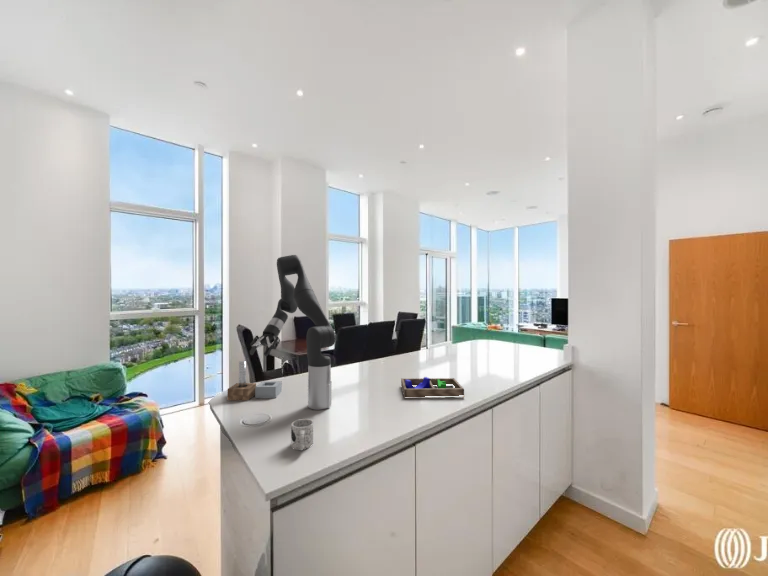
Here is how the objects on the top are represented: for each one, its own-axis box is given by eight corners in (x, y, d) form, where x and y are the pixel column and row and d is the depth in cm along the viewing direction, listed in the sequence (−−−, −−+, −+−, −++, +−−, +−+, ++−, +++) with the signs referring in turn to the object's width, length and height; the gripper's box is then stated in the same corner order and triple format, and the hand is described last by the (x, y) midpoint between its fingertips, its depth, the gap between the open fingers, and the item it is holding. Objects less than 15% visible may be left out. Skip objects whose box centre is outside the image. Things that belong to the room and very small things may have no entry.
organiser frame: (454, 386, 159) (454, 378, 159) (464, 397, 141) (464, 389, 141) (401, 386, 159) (401, 378, 159) (404, 398, 141) (404, 389, 141)
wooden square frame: (256, 393, 146) (256, 383, 146) (248, 400, 137) (248, 388, 137) (236, 393, 146) (236, 383, 146) (227, 400, 137) (227, 389, 137)
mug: (291, 440, 100) (291, 419, 100) (313, 438, 101) (313, 418, 101) (289, 456, 90) (289, 433, 90) (313, 454, 92) (313, 431, 92)
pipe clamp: (446, 396, 145) (446, 386, 145) (438, 395, 145) (438, 385, 145) (445, 388, 156) (445, 379, 156) (437, 388, 156) (437, 379, 156)
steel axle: (246, 395, 143) (247, 360, 144) (244, 398, 140) (244, 362, 141) (240, 396, 143) (240, 360, 143) (237, 398, 140) (237, 362, 140)
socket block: (281, 391, 150) (281, 381, 150) (275, 397, 141) (275, 386, 141) (262, 391, 149) (262, 381, 149) (255, 398, 140) (255, 386, 140)
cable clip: (424, 388, 155) (424, 376, 155) (429, 390, 151) (429, 378, 151) (403, 391, 149) (403, 379, 149) (408, 394, 145) (408, 381, 145)
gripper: (258, 323, 162) (242, 349, 151) (282, 324, 158) (266, 351, 147) (265, 332, 167) (250, 358, 156) (288, 333, 163) (273, 360, 152)
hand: (258, 354), depth 151 cm, fingers open, 8 cm apart
